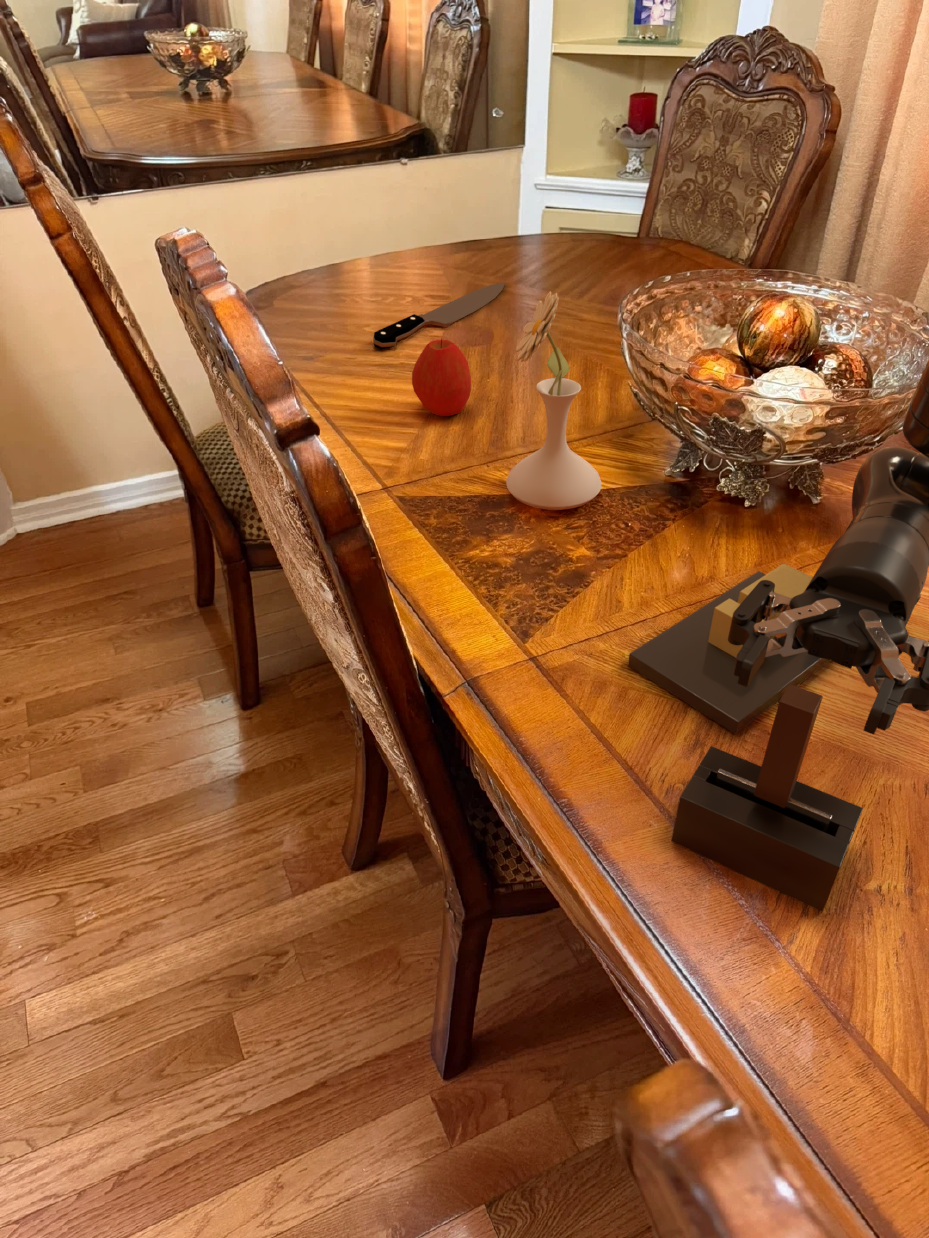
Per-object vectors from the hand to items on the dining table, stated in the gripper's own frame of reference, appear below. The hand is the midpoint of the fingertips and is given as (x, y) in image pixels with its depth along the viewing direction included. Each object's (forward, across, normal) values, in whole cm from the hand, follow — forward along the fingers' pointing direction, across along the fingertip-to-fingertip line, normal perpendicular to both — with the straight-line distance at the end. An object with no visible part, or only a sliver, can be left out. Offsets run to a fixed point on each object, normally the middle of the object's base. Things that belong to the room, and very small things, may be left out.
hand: (806, 699), depth 60 cm
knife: (+2, 0, +13) cm, 13 cm away
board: (-19, -9, +13) cm, 25 cm away
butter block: (-23, -8, +11) cm, 27 cm away
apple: (-48, -63, +13) cm, 80 cm away
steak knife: (-81, -86, +13) cm, 119 cm away
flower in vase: (-34, -38, +13) cm, 53 cm away
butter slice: (-17, -9, +12) cm, 22 cm away
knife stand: (+2, 0, +13) cm, 13 cm away
